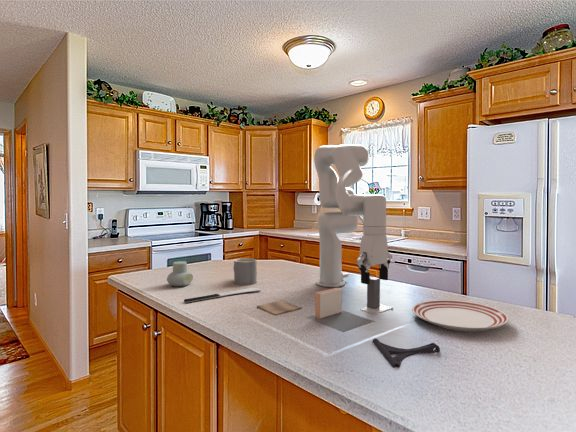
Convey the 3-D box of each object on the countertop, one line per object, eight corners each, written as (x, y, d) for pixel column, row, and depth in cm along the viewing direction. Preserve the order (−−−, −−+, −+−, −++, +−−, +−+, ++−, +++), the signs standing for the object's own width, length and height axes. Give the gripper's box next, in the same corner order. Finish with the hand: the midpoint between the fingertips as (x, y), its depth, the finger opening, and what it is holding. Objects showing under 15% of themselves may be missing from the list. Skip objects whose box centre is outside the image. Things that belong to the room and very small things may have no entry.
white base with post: (360, 311, 125) (360, 279, 124) (378, 306, 131) (379, 275, 130) (374, 316, 120) (375, 283, 120) (393, 310, 126) (393, 278, 126)
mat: (336, 310, 126) (336, 308, 126) (374, 323, 114) (374, 321, 114) (306, 319, 118) (306, 317, 118) (343, 333, 105) (343, 331, 105)
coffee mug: (260, 283, 164) (260, 260, 164) (239, 286, 159) (239, 263, 159) (247, 277, 176) (247, 256, 175) (228, 279, 171) (227, 258, 170)
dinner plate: (409, 330, 108) (409, 319, 108) (414, 304, 134) (414, 295, 134) (517, 344, 98) (518, 332, 98) (500, 313, 124) (501, 303, 123)
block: (337, 311, 124) (337, 287, 123) (342, 312, 122) (342, 288, 121) (315, 317, 117) (315, 292, 117) (320, 319, 116) (320, 294, 115)
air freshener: (180, 289, 155) (180, 265, 154) (164, 287, 158) (163, 264, 157) (195, 283, 165) (195, 260, 164) (180, 281, 168) (179, 259, 167)
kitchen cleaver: (251, 285, 159) (262, 287, 150) (251, 289, 159) (262, 291, 150) (178, 297, 141) (187, 300, 133) (178, 301, 141) (187, 305, 133)
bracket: (454, 367, 87) (454, 355, 87) (392, 370, 85) (393, 358, 85) (425, 342, 101) (425, 332, 101) (372, 345, 100) (372, 334, 99)
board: (281, 302, 135) (281, 300, 135) (301, 310, 126) (301, 307, 126) (256, 308, 128) (256, 305, 128) (275, 317, 120) (275, 314, 120)
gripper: (381, 229, 133) (381, 276, 134) (348, 232, 122) (349, 283, 123) (399, 230, 127) (399, 279, 128) (366, 233, 117) (366, 287, 117)
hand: (374, 281), depth 126 cm, fingers open, 9 cm apart
